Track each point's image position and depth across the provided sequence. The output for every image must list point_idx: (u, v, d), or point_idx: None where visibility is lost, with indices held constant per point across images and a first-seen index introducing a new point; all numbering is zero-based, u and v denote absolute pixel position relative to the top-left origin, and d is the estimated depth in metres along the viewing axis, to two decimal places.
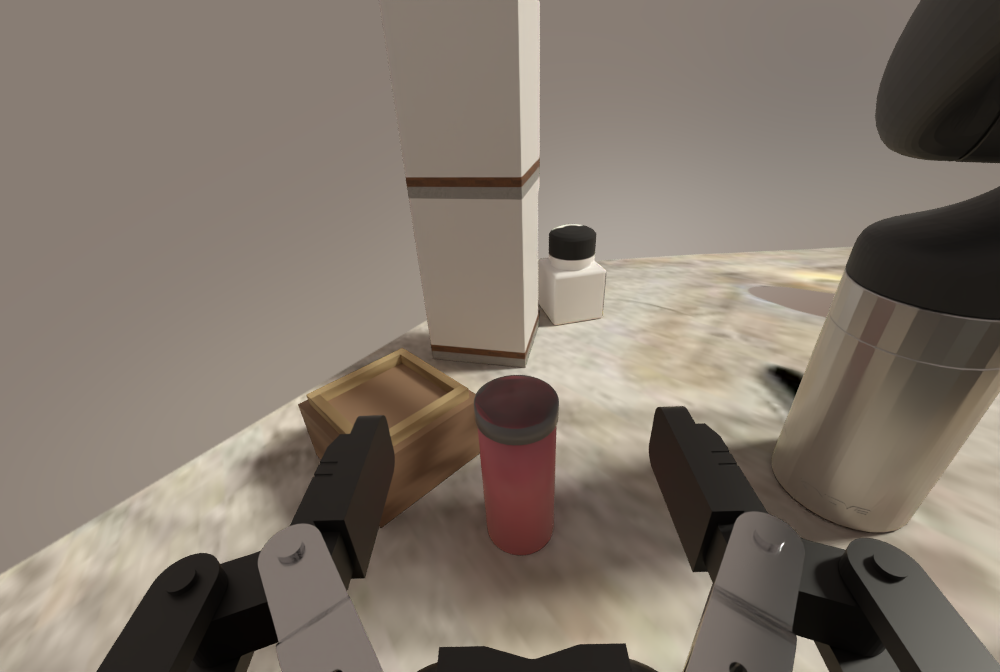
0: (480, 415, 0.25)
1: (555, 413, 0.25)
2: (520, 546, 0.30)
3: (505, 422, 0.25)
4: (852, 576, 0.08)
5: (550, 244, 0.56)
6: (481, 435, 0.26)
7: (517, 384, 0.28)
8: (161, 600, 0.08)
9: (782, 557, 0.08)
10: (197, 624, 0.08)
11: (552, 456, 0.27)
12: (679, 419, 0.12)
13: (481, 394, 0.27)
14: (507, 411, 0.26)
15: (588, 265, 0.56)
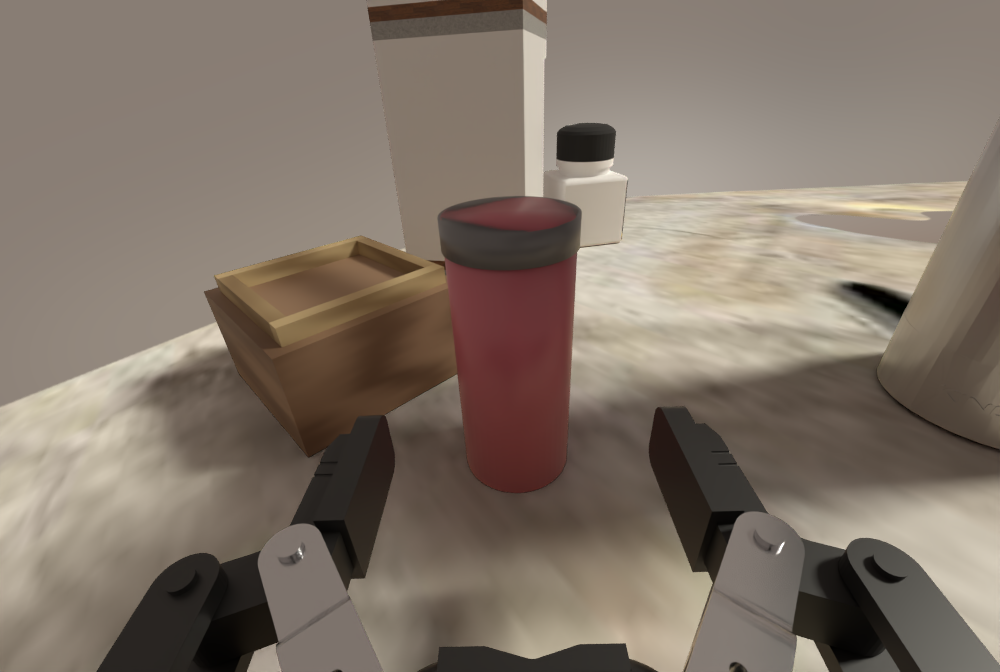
0: (446, 226, 0.15)
1: (577, 222, 0.15)
2: (516, 477, 0.19)
3: (489, 229, 0.14)
4: (852, 576, 0.08)
5: (558, 144, 0.45)
6: (450, 270, 0.16)
7: (511, 202, 0.17)
8: (161, 600, 0.08)
9: (782, 557, 0.08)
10: (196, 624, 0.08)
11: (569, 315, 0.16)
12: (679, 419, 0.12)
13: (452, 210, 0.16)
14: (493, 220, 0.15)
15: (606, 171, 0.45)
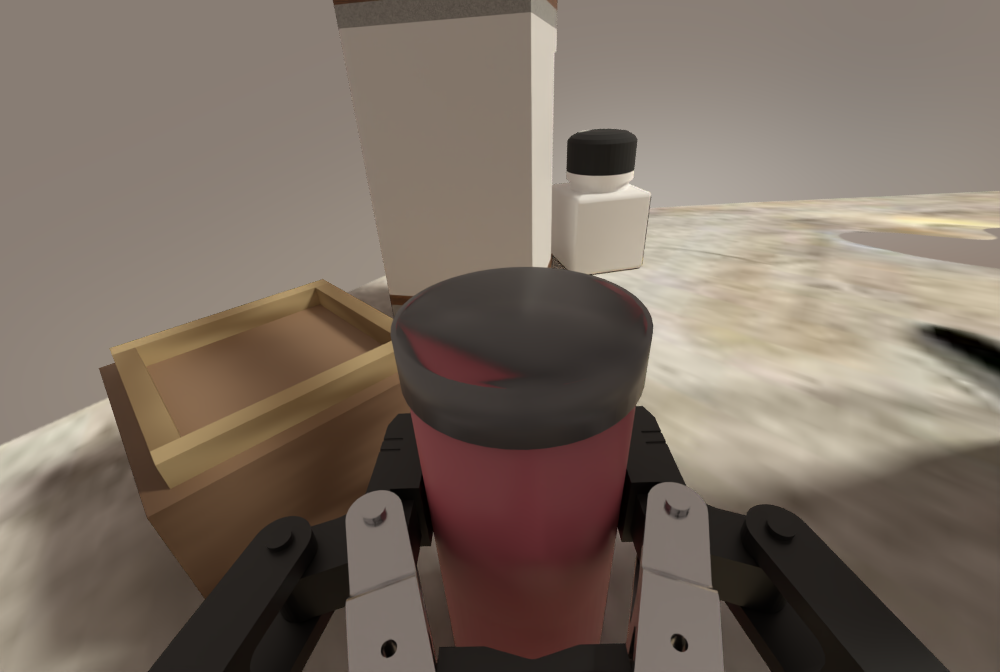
0: (403, 353, 0.08)
1: (648, 346, 0.08)
2: None
3: (483, 370, 0.07)
4: (754, 545, 0.09)
5: (569, 154, 0.38)
6: (414, 419, 0.09)
7: (522, 283, 0.10)
8: (260, 552, 0.09)
9: (686, 521, 0.09)
10: (283, 584, 0.08)
11: (622, 482, 0.10)
12: None
13: (420, 303, 0.09)
14: (492, 340, 0.08)
15: (625, 185, 0.38)
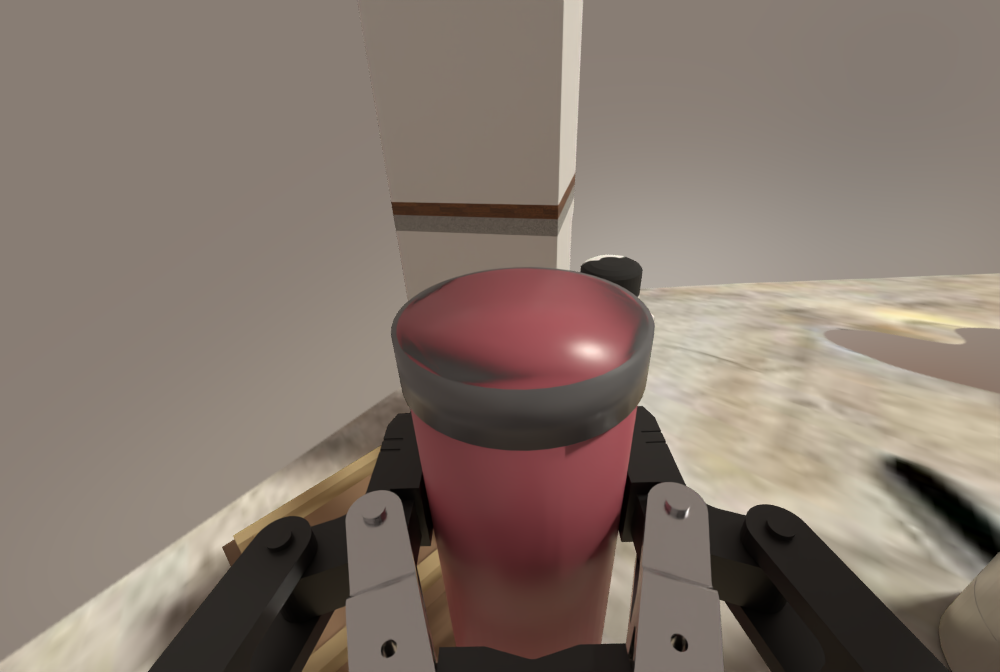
0: (404, 353, 0.08)
1: (650, 346, 0.08)
2: None
3: (484, 370, 0.07)
4: (754, 545, 0.09)
5: None
6: (415, 419, 0.09)
7: (523, 283, 0.10)
8: (260, 552, 0.09)
9: (686, 521, 0.09)
10: (283, 585, 0.08)
11: (623, 482, 0.10)
12: None
13: (421, 303, 0.09)
14: (493, 340, 0.08)
15: None
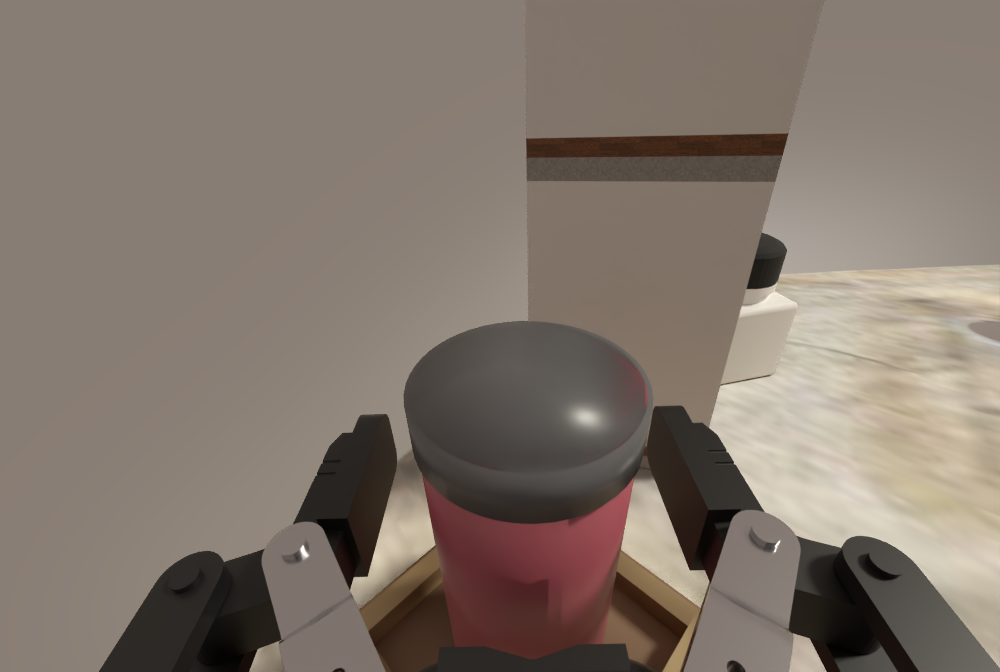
0: (416, 426, 0.08)
1: (648, 421, 0.08)
2: None
3: (493, 449, 0.08)
4: (847, 574, 0.08)
5: None
6: (426, 480, 0.09)
7: (528, 342, 0.11)
8: (165, 597, 0.08)
9: (778, 555, 0.08)
10: (200, 622, 0.08)
11: (622, 535, 0.10)
12: (677, 418, 0.12)
13: (431, 365, 0.10)
14: (501, 413, 0.08)
15: (768, 295, 0.35)
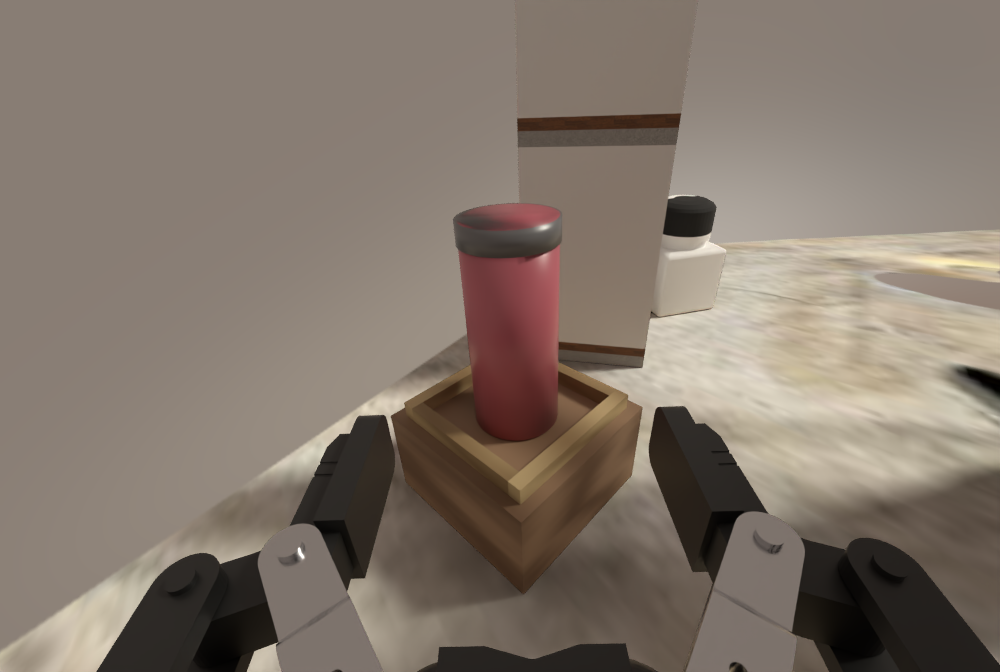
0: (460, 226, 0.20)
1: (558, 222, 0.20)
2: (516, 427, 0.24)
3: (493, 227, 0.19)
4: (852, 576, 0.08)
5: None
6: (463, 260, 0.20)
7: (509, 208, 0.22)
8: (161, 600, 0.08)
9: (782, 557, 0.08)
10: (196, 624, 0.08)
11: (555, 293, 0.21)
12: (679, 419, 0.12)
13: (463, 214, 0.21)
14: (496, 222, 0.20)
15: (704, 243, 0.46)
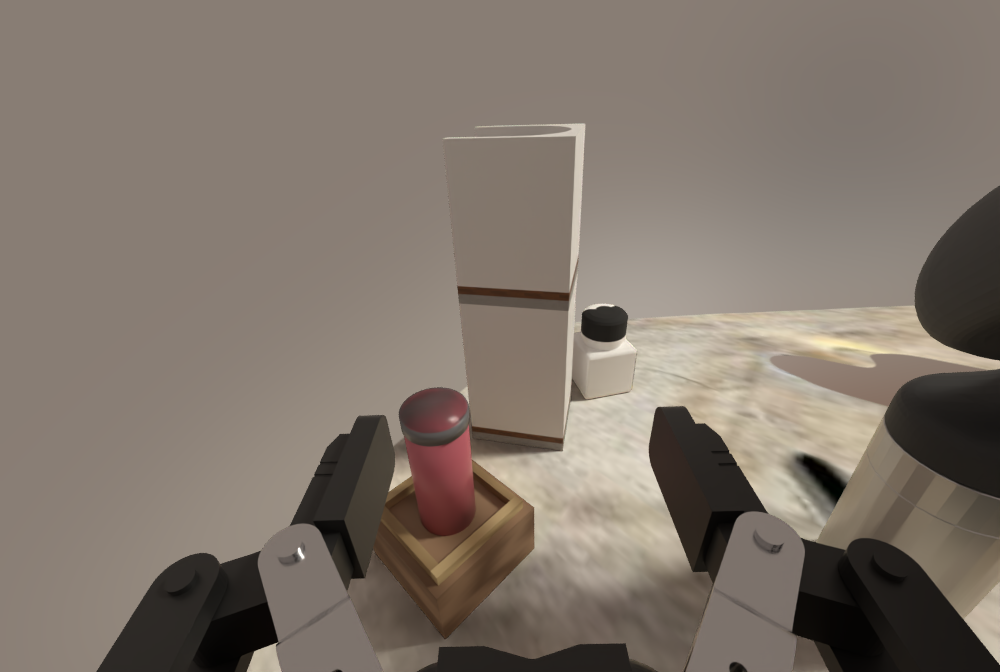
0: (402, 422, 0.31)
1: (463, 420, 0.31)
2: (444, 528, 0.36)
3: (421, 428, 0.31)
4: (852, 576, 0.08)
5: (583, 325, 0.58)
6: (405, 438, 0.32)
7: (437, 396, 0.34)
8: (161, 600, 0.08)
9: (782, 557, 0.08)
10: (196, 624, 0.08)
11: (465, 454, 0.33)
12: (679, 419, 0.12)
13: (406, 404, 0.33)
14: (425, 418, 0.32)
15: (620, 344, 0.59)
